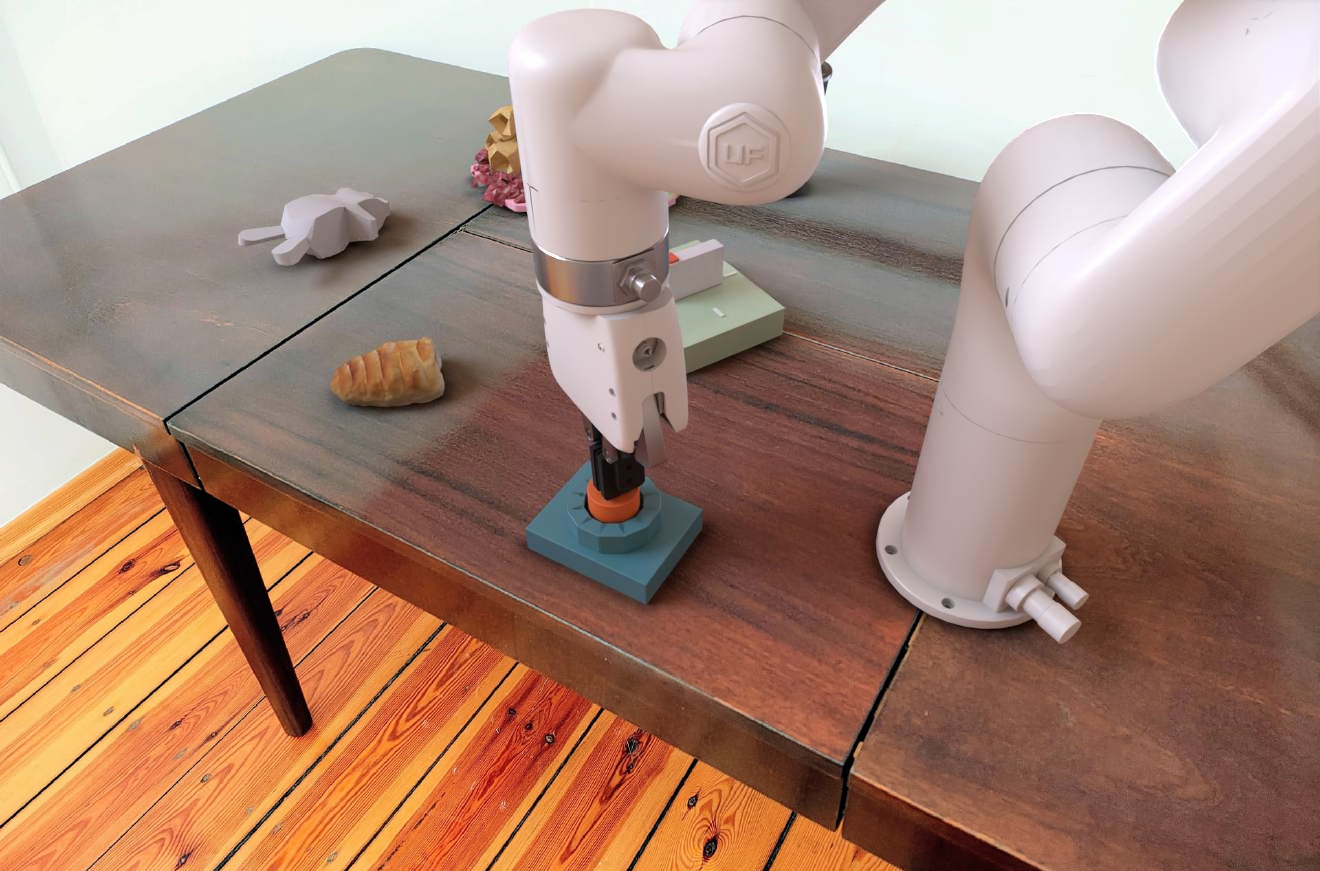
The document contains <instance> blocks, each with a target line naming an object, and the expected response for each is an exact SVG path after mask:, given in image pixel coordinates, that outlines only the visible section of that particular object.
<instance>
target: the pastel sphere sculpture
mask: <svg viewBox="0 0 1320 871" xmlns="http://www.w3.org/2000/svg"><path fill="white" fill-rule="evenodd" d="M487 122H488V123H489V125H491V126H492V127H493V128H494V129H495V130H494V131H492V132H490V133H489V134H488V136H487V139H486V141H485V143H484V144H485V145H484V148H481V149H480V151H478V152H477V153H476V154H475V155H474V160H475V161H477V162H476V163H475V164H473V165H471V166H470V174H471V176H473V177H474V179H473V181H472V183H471V185H470V189H476V188H481V187H486V186H488V187H487V189H486V191H485V192H484V194H483V195H482V197H481V199H480V200H481V201H483V202H486V203H489V204H492V205H495V206H497V207H501V208H503V206H505V207H507V208H508V209H510V210H512V211H513V212H517V213H518V212H519V213H521V212H522V213H523V212H524V213H525V212H526V213H527V207H526V200H525V193H524V185H523V178H522V171H521V164H520V156H519V149H518V142H517V134H516V127H515V119H514V112H513V105H512V104H509V105H505V106H502V107H499V108H498V109H497V110H496V111H495V112H493V113H492V114H491V116H490V118H488V120H487ZM680 196H681V195H679V194H674V193H669V192H668V208H670V207H672V206H673V205H675V204H676V202H677V201H676V200H677V199H678V198H679V197H680Z"/></svg>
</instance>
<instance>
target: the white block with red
mask: <svg viewBox="0 0 1320 871" xmlns="http://www.w3.org/2000/svg"><path fill="white" fill-rule="evenodd" d="M724 255H725V245H723V244H722V243H721V242H720V241H718V240H717V239H716V238H712V239H709V240H706V241H703V242H701V243H700V244H697V245H694V246H692V247H689V248H686V249H683V250H680V251H677V252H675V253H672V252H670V253H669V264H670V266H669V268H670V277H669V282H668V284H667V287H668V288H669V289H670V291H671V292H672V294H673V297H674V301H676V300H679V299H681V298H684V297H687V296H689V295H692V294H695V293H697V292H700V291H703V290H705V289H708V288H710V287H713V286H716V285H718V284H721V283H722V280H723V260H724V259H725V258H724Z"/></svg>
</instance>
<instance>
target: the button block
mask: <svg viewBox="0 0 1320 871" xmlns="http://www.w3.org/2000/svg"><path fill="white" fill-rule="evenodd" d="M592 478H593V477H592V468H591V460H587V461H586V462H585V463H584V464H583V465H582V466H581V467H580V468H579V469H578V470H577V471H576V472H575V473H574V475H573V476H572V477H571V478H570V479H569V480H567V482H566V483H565V485H563V487H562V488H561V489H560V490H559V491H558V492H557V493H556V495H555V496H553V498H551V500H550V501H549V502H547V504H546V505H545V506H544V507H543V508H542V510H541V511H540V512H538V514H537V515H536V516H535V517H534V518H533V519H532V520H531V521H530V523H529V524H528V525H526V527H525V536H526V542H527V549H529V550H531V551H533V552H535V553H537V554H539V555H541V556H543V557H545V558H548V559H550V560H552V561H554V562H556V563H558V564H560V565H562V566H564V567H566V568H569V569H570V570H572V571H574V572H577V573H578V574H580V575H583V576H585V577H587V578H589V579H591V580H594V581H595V582H598V583H599V584H602V585H604V586H606V587H608V588H611V589H613V590H614V591H617V592H618V593H621V594H623V595H625V596H627V597H629V598H631V599H634V600H635V601H638V602H640V603H642V604H643V605H648V604H649V603H650V601H651V600H652V598H653V597H654V596H655V594H656V593H657V592H658V590H659V589H660V588H661V586H662V585H663V583H664V582H665V581H666V579H667V578H668V577H669V575H670V574H671V572H672V571H673V570H674V568H675V567H676V565H677V564H678V563H679V561H681V559H682V558H683V557H684V555H685V554H686V552H687V551H688V549H689V548H690V546H691V545H692V544H693V542H694V541H695V540H696V538H697V537H698V535H699V534H700V533H701V532H702V530H703V521H704V520H703V518H704V517H703V516H704V508H702V507H699V506H697V505H695V504H692V503H690V502H688V501H685V500H682V499H681V498H679V497H676V496H674V495H670V494H668V493H666V492H664V491H661V490H659V488H658V487H657V486H656V485H655V484H654V483H653V481H652V480H651V479H650V477H648V476H647V475H645V482H644V483H643V484H642V485H641V486H639V492H640V507H639V510H638V512H637V513H636V515H635V516H634V517H632V518H631V519H629V520H627V521H625V522H622V523H617V524H610V523H604V522H601V521H599V520H597V519H596V518H595V517H594V516H593V515H592V514H591V512H590V510H589V506H588V494H587V487H588V484H589V482H590V480H591V479H592Z"/></svg>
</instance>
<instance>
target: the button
mask: <svg viewBox="0 0 1320 871" xmlns="http://www.w3.org/2000/svg"><path fill="white" fill-rule="evenodd" d="M587 494H588V506H589V510H590V512H591V514H592V515H593V516H594V517H595V518H596V519H597V520H599V521H601V522H604V523H610V524H617V523H622V522H625V521H627V520H629V519H631V518H632V517H634V516H635V515H636V513H637V512H638V510H639V507H640V492H639V487H637V488H635V489H633V490H631V491H629V492H626V493H624V494H622V495H620V496H618V497H616V498H613V499H611V500H609V501H607V500H605V499H604V498H603V496H602V495H601V491H598V490H597V489H596V488H595V487H594V485H593V478H592V479H591V480H590V482H589V484H588V487H587Z"/></svg>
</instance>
